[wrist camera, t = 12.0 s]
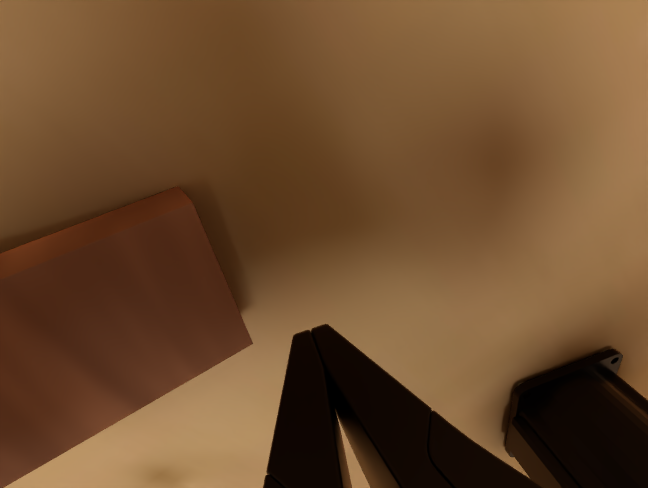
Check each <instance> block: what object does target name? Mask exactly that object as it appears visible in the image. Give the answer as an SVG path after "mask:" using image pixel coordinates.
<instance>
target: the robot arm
mask: <svg viewBox="0 0 648 488" xmlns="http://www.w3.org/2000/svg"><path fill="white" fill-rule="evenodd" d="M622 358H623V355H622V354H621V353H620V352H618V351H617V350H616V349H610V350H607V351H604V352H602V353H599V354H597V355H594V356H592V357H589V358H586V359H584V360H581V361H579V362H576V363H574V364H571V365H568V366H566V367H563V368H561V369H558V370H556V371H553V372H550V373H548V374H545V375H543V376H540V377H538V378H535V379H532V380H530V381H527V382H525V383H522V384H520V385H519V386H518V387H516V389H515V390H514V392H513V399H512V405H511V412H510V419H509V426H508V433H507V440H506V446H505V450H506V452H507V453H508V454H509V456H510V457H515V458H516V460H517V461H518V462H519V464H520V465H521V466H522V468H523V469H524V471H525V472H526V473H527V475H528V476H529V477H530V478H528V477H527V476H525V475H523V474H522V473H520V472H519V471H517V470H516V469H514V468H513V467H511V466H510V465H508V464H507V463H505V462H504V461H502V460H500V459H499V458H497V457H496V456H494V455H493V454H492V453H490V452H489V451H487V450H486V449H484V448H483V447H481V446H480V445H478V444H477V443H475V442H474V441H473V440H471V439H470V438H468V437H467V436H466V435H465V434H463V433H462V432H461V431H459V430H458V429H457V428H455V427H454V426H453V425H451V424H450V423H449V422H448V421H446V420H445V419H444V418H443V417H442V416H440V415H439V414H438V413H437V412H435V411H432V410H431V408H430V407H429V406H428V405H427V404H425V403H424V402H423V401H422V400H420V399H419V398H418V397H417V396H415V395H414V394H413V393H412V392H411V391H409V390H408V389H407V388H406V387H404V386H403V385H402V384H401V383H399V382H398V381H397V380H396V379H395V378H393V377H392V376H391V375H390V374H388V373H387V372H386V371H385V370H383V369H382V368H381V367H380V366H379V365H377V364H376V363H375V362H374V361H372V360H371V359H370V358H369V357H367V356H366V355H365V354H364V353H363V352H361V351H360V350H359V349H358V348H356V347H355V346H354V345H353V344H351V343H350V342H349V341H348V340H347V339H345V338H344V337H343V336H342V335H340V334H339V333H338V332H337V331H335V330H334V329H333V328H332V327H331V326H329V325H328V324H323V325H320V326H317V327H314V328H312V330H311V331H310V330H306V331H303V332H300V333H297V334H295V335H294V336H293V339H292V344H291V349H290V354H289V359H288V364H287V369H286V375H285V380H284V385H283V390H282V395H281V400H280V405H279V410H278V415H277V420H276V425H275V430H274V436H273V441H272V446H271V451H270V456H269V461H268V466H267V471H266V472H267V474H268V475H266V476H265V480H264V485H263V488H352V485H351V480H350V475H349V470H348V465H347V460H346V455H345V450H344V445H343V440H342V435H341V430H340V426H339V422H338V418H339V421H340V423H341V426H342V428H343V430H344V432H345V434H346V436H347V439H348V441H349V443H350V445H351V447H352V449H353V451H354V454H355V456H356V458H357V460H358V462H359V464H360V466H361V468H362V471H363V473H364V475H365V477H366V479H367V481H368V483H369V485H370V488H648V400H647V399H646V398H644V397H643V396H642V395H641V394H640V393H638V392H637V391H636V390H635V389H634V388H632V387H631V386H630V385H629V384H627V383H626V382H625V381H624V380H623V379H621V378H620V377H619V376H618V375H617V371H618V369H619V366H620V363H621V360H622ZM336 413H337V414H336ZM337 416H338V418H337Z"/></svg>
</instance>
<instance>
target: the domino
mask: <svg viewBox="0 0 648 488" xmlns="http://www.w3.org/2000/svg"><path fill="white" fill-rule="evenodd" d="M251 344H253V343H252V340H251V338H250V336H249V333H248V331H247V329H246V326H245V324H244V322H243V319H242V317H241V315H240V312H239V310H238V308H237V305H236V303H235V301H234V298H233V296H232V294H231V291H230V289H229V287H228V284H227V282H226V280H225V277H224V275H223V273H222V270H221V268H220V265H219V263H218V261H217V258H216V256H215V254H214V251H213V249H212V247H211V244H210V242H209V240H208V237H207V235H206V233H205V230H204V228H203V226H202V223H201V221H200V219H199V216H198V214H197V212H196V209H195V207H194V205H193V202H192V201H191V200H190V199H189V198H188V197H187V196H186V194H185V193H184V192H183V191H182V190H181V189H180V188H179V187H178V186H177V187H174V188H172V189H169V190H166V191H164V192H161V193H159V194H156V195H153V196H151V197H148V198H145V199H143V200H140V201H137V202H135V203H132V204H129V205H127V206H124V207H122V208H119V209H116V210H114V211H111V212H108V213H106V214H103V215H100V216H98V217H95V218H92V219H90V220H87V221H85V222H82V223H79V224H77V225H74V226H71V227H69V228H66V229H63V230H61V231H58V232H56V233H53V234H50V235H48V236H45V237H42V238H40V239H37V240H34V241H32V242H29V243H26V244H24V245H21V246H19V247H16V248H13V249H11V250H8V251H5V252H3V253H0V488H4V487H5V486H7V485H9V484H11V483H12V482H14V481H16V480H17V479H19V478H21V477H23V476H24V475H26V474H28V473H30V472H31V471H33V470H35V469H37V468H38V467H40V466H42V465H43V464H45V463H47V462H49V461H50V460H52V459H54V458H56V457H57V456H59V455H61V454H63V453H64V452H66V451H68V450H69V449H71V448H73V447H75V446H76V445H78V444H80V443H82V442H83V441H85V440H87V439H89V438H90V437H92V436H94V435H95V434H97V433H99V432H101V431H102V430H104V429H106V428H108V427H109V426H111V425H113V424H115V423H116V422H118V421H120V420H121V419H123V418H125V417H127V416H128V415H130V414H132V413H134V412H135V411H137V410H139V409H141V408H142V407H144V406H146V405H147V404H149V403H151V402H153V401H154V400H156V399H158V398H160V397H161V396H163V395H165V394H167V393H168V392H170V391H172V390H173V389H175V388H177V387H179V386H180V385H182V384H184V383H186V382H187V381H189V380H191V379H192V378H194V377H196V376H198V375H199V374H201V373H203V372H205V371H206V370H208V369H210V368H212V367H213V366H215V365H217V364H218V363H220V362H222V361H224V360H225V359H227V358H229V357H231V356H232V355H234V354H236V353H238V352H239V351H241V350H243V349H244V348H246V347H248V346H250V345H251Z"/></svg>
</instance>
